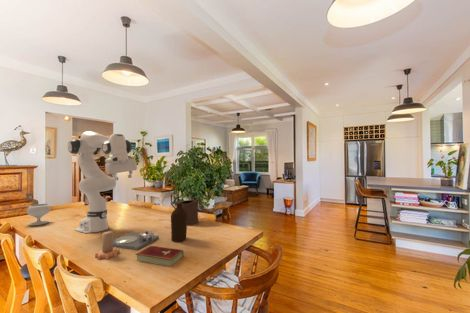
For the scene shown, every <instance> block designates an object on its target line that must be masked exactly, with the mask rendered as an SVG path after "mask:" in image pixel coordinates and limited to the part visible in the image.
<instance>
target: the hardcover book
mask: <svg viewBox="0 0 470 313" xmlns="http://www.w3.org/2000/svg"><path fill="white" fill-rule="evenodd" d="M184 252H185V251H184V250H183V249H177V248H170V247H164V246H163V247H162V246H155V245H149V246H146V247H145V248H144V249H142V250H140V251H138V252H136V253H135V255H136V261H139V262H143V263H144V262H145V263H150V264H156V265H161V266H167V267H171V266H173V265H174V264H176V263H177V262H178V261H179V260H180V259H181V258H183V257H184V256H185V255H184Z"/></svg>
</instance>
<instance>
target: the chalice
mask: <svg viewBox="0 0 470 313" xmlns="http://www.w3.org/2000/svg"><path fill="white" fill-rule="evenodd" d="M50 211H51V206H50V204H49V203H37V204H31V205H29V206H28V208H27V210H26V214H28V215H27V216H30V217H34V218H36V221H34V222H30V223H29V224H27V226H31V227H32V226H41V225H45V224H48V223H49V221H47V220H41V219H42V218H43V217H44V216H45V215H47V214H49V213H50Z"/></svg>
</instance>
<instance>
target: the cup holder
mask: <svg viewBox="0 0 470 313" xmlns="http://www.w3.org/2000/svg"><path fill="white" fill-rule="evenodd" d="M173 194H174V195H177V201H180V195H179V193H178V192H172V193H171V194H170V206H171V207H172V208H174V210H175V209H176V206H174V204H173ZM181 201H182V200H181ZM182 208H183V209H184V210H185V211H186V212H187V227H189V226H195V225H199V223H200V220H199V197H197V198H195V199H192V200H190V199H189V200H188V199H187V200H183V201H182Z"/></svg>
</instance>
